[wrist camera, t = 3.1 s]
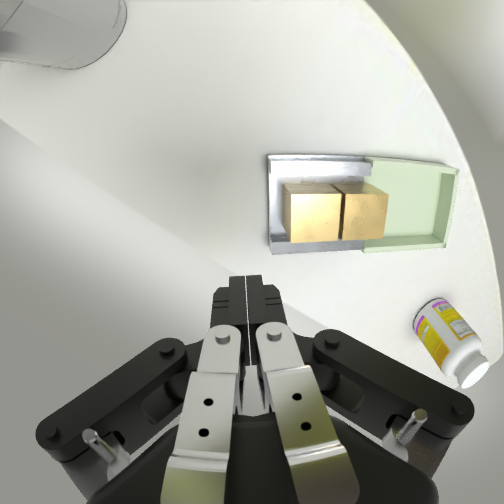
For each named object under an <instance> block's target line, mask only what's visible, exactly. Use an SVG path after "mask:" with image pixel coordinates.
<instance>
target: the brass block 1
mask: <svg viewBox="0 0 504 504" xmlns="http://www.w3.org/2000/svg"><path fill="white" fill-rule="evenodd" d="M340 206H341V193H339V192H338V191H337V190H335V189H334V188H333V187H331V186H330V185H329V184H327V183H283V227H284V229H285V232H286V234H287V236H288V238H289V241H290V243H305V242H324V241H338V231H339V219H340Z"/></svg>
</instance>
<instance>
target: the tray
mask: <svg viewBox="0 0 504 504" xmlns="http://www.w3.org/2000/svg"><path fill="white" fill-rule="evenodd" d="M363 157H365V161H368V162H370V163H372V169H371V176H364V183H369V184H371V185H373V186H375V187H377V188H378V189H380V190H382V191H384V192H385V193H387V194H389V198H388V207H387V215H386V222H385V229H384V236H383V239H365V240H364V247H363V249H361V251H362V252H363V253H378V252H393V251H407V250H421V249H435V248H446V244H447V240H448V236H449V231H450V226H451V221H452V216H453V211H454V205H455V199H456V192H457V185H458V178H459V169H457V168H454V167H451V166H448V165H445V164H440V163H433V162H425V161H416V160H407V159H397V158H385V157H372V156H363Z"/></svg>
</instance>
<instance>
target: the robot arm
mask: <svg viewBox="0 0 504 504" xmlns="http://www.w3.org/2000/svg"><path fill="white" fill-rule="evenodd" d="M125 20H126V5H125V3H124V0H0V61H3V62H14V63H23V64H31V65H38V66H45V67H50V66H54V67H59V68H65V69H77V68H81V67H84V66H87V65H89V64H91V63H93V62H94V61H96V60H97V59H99V58H100V57H101V56H103V55H104V54H105V53H106V52H107V51H108V50H109V49H110V48H111V47H112V45H113V44H114V43H115V42H116V40H117V39H118V37H119V35H120V34H121V32H122V29H123V27H124V24H125ZM246 285H247V303H248V320H249V335H250V349H251V362H252V365H257V380H258V386H259V391H260V396H261V401H262V406H263V411H264V414H262V415H259V416H254V417H252V416H245V415H243V404H244V386H245V379H244V377H245V373H246V370H245V366H249V365H250V356H249V339H248V322H247V307H246V290H245V276H232V277H229V287H220V288H218V289H217V290H216V292H215V293H214V296H213V304H212V314H211V323H210V329H209V330H208V331H207V332H206V334H205V337H204V339H203V340H201V341H199V342H197V343H193V344H189V345H186V346H185V345H184V344H183V342H182V341H180V340H178V339H175V338H164V339H161V340H159V341H157V342H155V343H154V344H152V345H151V346H150V347H149V348H147V349H145V350H144V351H143V352H141V353H140V354H138V355H137V356H135V357H134V358H133V359H131V360H130V361H128V362H127V363H125V364H124V365H123V366H121V367H120V368H118V369H117V370H115V371H114V372H113V373H111V374H110V375H108V376H107V377H105V378H104V379H102V380H101V381H99V382H98V383H97V384H95V385H94V386H92V387H91V388H89V389H88V390H86V391H85V392H84V393H82V394H81V395H79V396H78V397H76V398H75V399H73V400H72V401H70V402H69V403H67V404H66V405H64V406H63V407H62V408H60V409H58V410H57V411H56V412H54V413H53V414H51V415H50V416H48V417H47V418H45V419H44V420H42V421H41V422H40V423H39V425H38V426H37V429H36V440H37V442H38V444H39V445H40V446H41V447H42V448H43V449H45V451H47V452H48V453H49V454H50V455H51V457H52V458H54V459H55V460H56V461H57V462H58V463H60V464H61V465H62V467H63V468H64V469H65V471H66V472H67V474H68V475H69V477H70V478H71V479H72V481H73V482H74V484H75V485H76V486H77V488H78V489H79V490H80V492H81V493H82V494H83V495H84V497H85V498H86V499H87V500H88V501H87V503H86V504H438V502H439V496H438V490H437V487H436V486H435V483H434V482H433V480H432V477H433V475H434V473H435V472H436V470H437V468H438V467H439V465H440V463H441V461H442V459H443V457H444V456H445V454H446V452H447V450H448V448H449V446H450V443H451V442H452V441H453V439H454V438H455V437H456V436H457V435H458V434H459V433H460V432H461V431H462V430H463V429H464V428H465V427H466V425H467V424H468V423H469V422H470V421H471V420H472V418H473V416H474V405H473V403H472V401H471V400H470V399H469V398H468V397H467V396H465V395H464V394H462V393H460V392H457V391H455V390H453V389H451V388H449V387H447V386H445V385H443V384H441V383H439V382H437V381H435V380H433V379H431V378H429V377H427V376H425V375H423V374H421V373H419V372H417V371H415V370H413V369H412V368H410V367H408V366H406V365H404V364H402V363H400V362H398V361H396V360H394V359H392V358H390V357H388V356H386V355H384V354H383V353H381V352H379V351H377V350H375V349H373V348H371V347H369V346H367V345H365V344H364V343H362V342H360V341H358V340H356V339H354V338H352V337H350V336H349V335H347V334H345V333H343V332H341V331H338V330H334V329H327V330H323V331H320V332H319V333H317V334H316V335H315V337H314V338H310V337H303V336H299V335H297V334H295V333H293V332H292V330H291V329H290V327H289V326H288V325H287V321H286V317H285V313H284V309H283V304H282V300H281V296H280V292H279V290H278V289H277V288H276V287H275V286H274V285H263V282H262V276H261V275H249V276H246ZM326 405H327V406H328V407H330V408H332V409H333V410H334V411H336V412H338V413H339V414H341V415H342V416H344V417H345V418H347V419H348V420H350V421H352V422H353V423H355V424H357V425H358V426H360V427H361V428H363V429H364V430H366V431H368V432H369V433H371V434H373V435H374V436H376V437H378V438H379V439H381V440H382V445H383V447H381V446H380V445H378V444H376V443H375V442H373V441H372V440H370V439H369V438H367V437H366V436H364V435H363V434H361V433H360V432H358V431H357V430H355V429H354V428H352V427H351V426H350V425H348V424H346V423H345V422H344V421H342V420H340V419H338V418H336V417H333V416H331V415H329V413H328V411H327V408H326ZM181 412H182V414H181V419H180V423H179V424H178V425H176V426H175V427H172V428H171V429H169V430H168V431H167V432H165V433H164V434H163V435H162V436H161V437H160V438H159V439H158V440H157V441H156V442H154V443H153V444H152V445H151V446H150V447H149V448H148V449H146V450H145V451H144V452H143V453H142V454H141V455H140V456H139V457H137V458H136V459H135V460H134V461H133V462H131V463H130V455H131V454H132V453H134V452H135V451H136V450H137V449H139V448H140V447H141V446H142V445H144V444H145V443H146V442H147V441H148V440H150V439H151V438H152V437H153V436H154V435H156V434H157V433H158V432H159V431H160V430H162V429H163V428H164V427H165V426H166V425H167V424H169V423H170V422H171V421H172V420H173V419H174V418H176V417H177V416H178V415H179V414H180V413H181Z"/></svg>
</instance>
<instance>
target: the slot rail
mask: <svg viewBox="0 0 504 504" xmlns="http://www.w3.org/2000/svg"><path fill="white" fill-rule="evenodd" d="M267 155H268V209H269V248H270V250H271V253H272V255H275V254H293V253H310V252H327V251H343V250H360V249H363V247H364V240H344V241H342V240H341V239H340V238H339V236H338V241H324V242H305V243H290V241H289V238H288V236H287V234H286V232H285V229H284V227H283V183H327V184H329V185H330V183H364V176H371V169H372V163H370V162H368V161H365V157H363V156H355V155H330V154H267Z"/></svg>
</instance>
